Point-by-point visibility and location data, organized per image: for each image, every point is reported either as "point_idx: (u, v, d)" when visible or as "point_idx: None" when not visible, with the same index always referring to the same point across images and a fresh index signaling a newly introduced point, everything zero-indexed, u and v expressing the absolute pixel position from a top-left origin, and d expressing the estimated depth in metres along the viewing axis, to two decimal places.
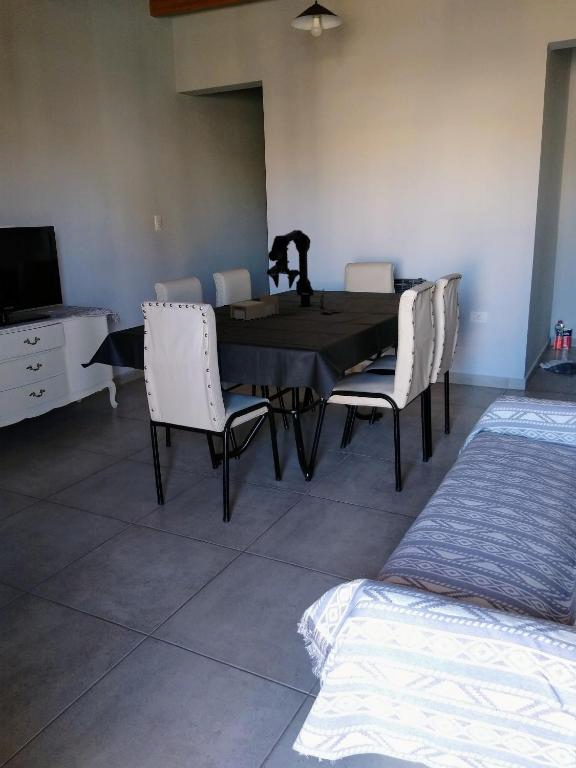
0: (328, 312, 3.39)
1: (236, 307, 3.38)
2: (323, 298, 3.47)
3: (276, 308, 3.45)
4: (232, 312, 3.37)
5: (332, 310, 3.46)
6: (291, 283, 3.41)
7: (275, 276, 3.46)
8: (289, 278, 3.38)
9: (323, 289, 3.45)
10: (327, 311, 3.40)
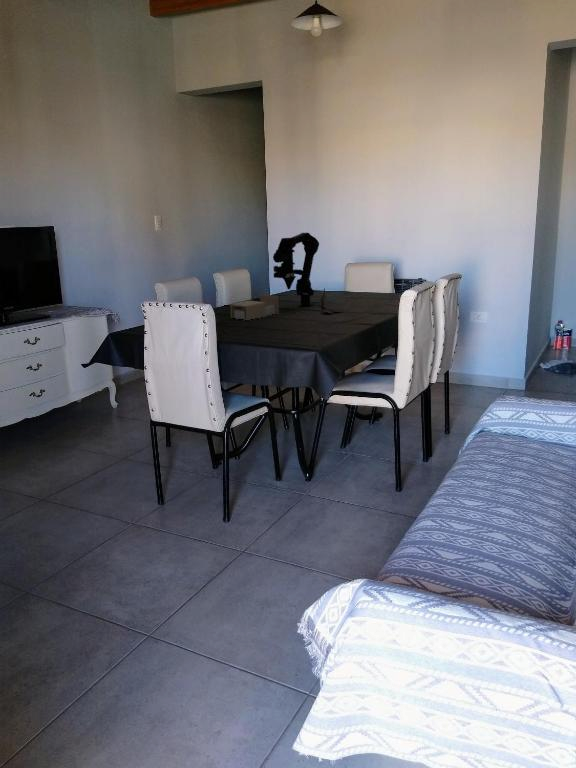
0: None
1: (236, 307, 3.38)
2: (324, 298, 3.47)
3: (276, 308, 3.45)
4: (232, 312, 3.37)
5: (333, 310, 3.46)
6: (287, 284, 3.53)
7: None
8: (283, 278, 3.53)
9: (324, 289, 3.46)
10: (327, 311, 3.41)
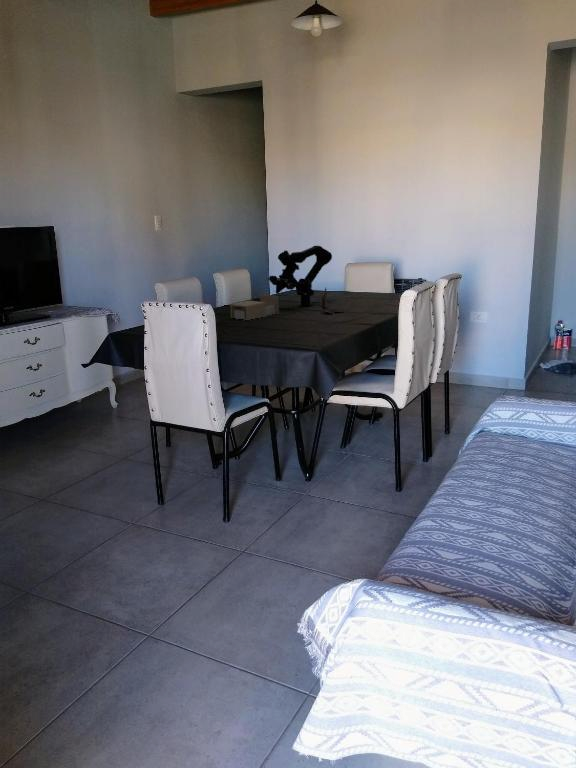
0: None
1: (236, 307, 3.38)
2: None
3: (276, 308, 3.45)
4: (232, 312, 3.37)
5: (334, 310, 3.47)
6: None
7: None
8: None
9: None
10: (328, 311, 3.41)
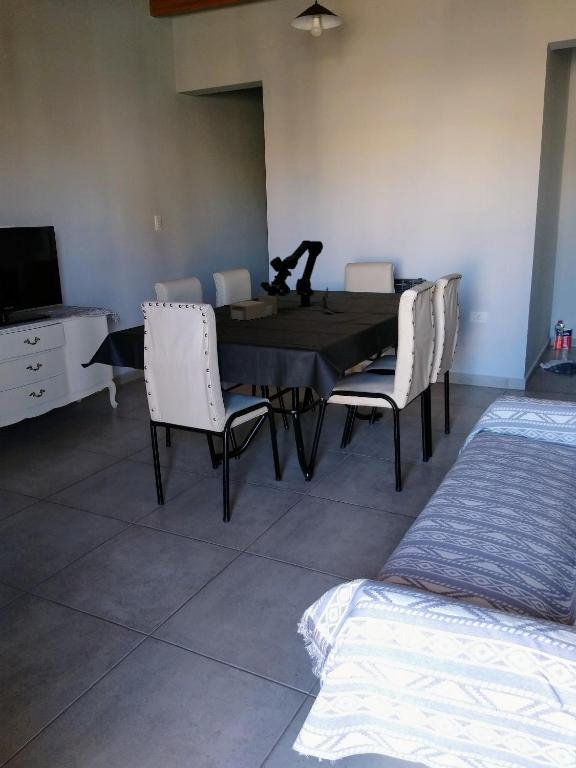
0: None
1: (236, 307, 3.38)
2: (327, 297, 3.48)
3: (274, 308, 3.44)
4: None
5: None
6: None
7: None
8: None
9: (327, 288, 3.47)
10: (329, 310, 3.42)
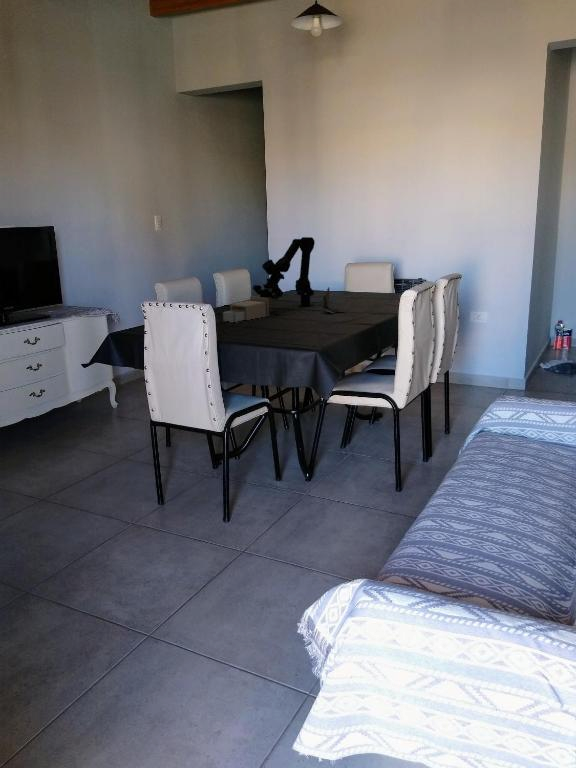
0: (329, 311, 3.41)
1: (236, 307, 3.38)
2: (328, 297, 3.49)
3: (266, 310, 3.40)
4: None
5: (336, 310, 3.47)
6: None
7: None
8: None
9: (328, 288, 3.47)
10: (329, 310, 3.42)
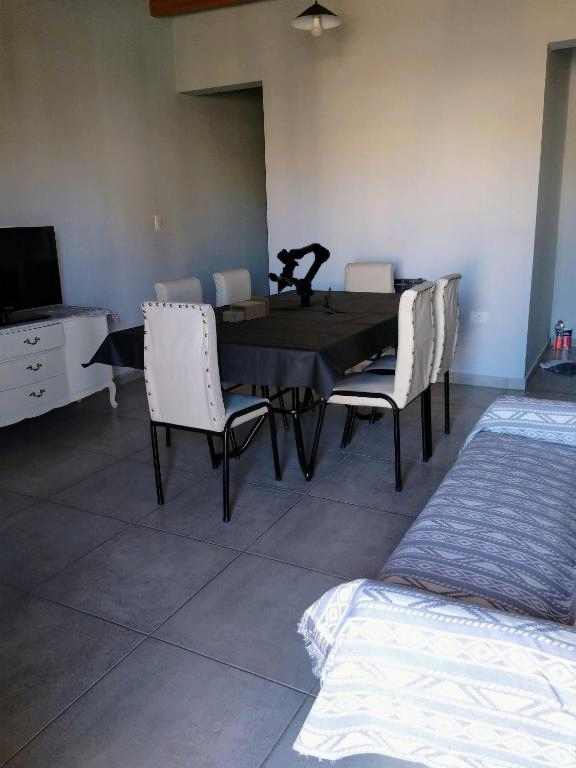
0: (330, 311, 3.41)
1: (236, 307, 3.38)
2: (330, 297, 3.49)
3: (266, 310, 3.40)
4: None
5: None
6: None
7: None
8: None
9: (330, 288, 3.47)
10: (330, 310, 3.42)
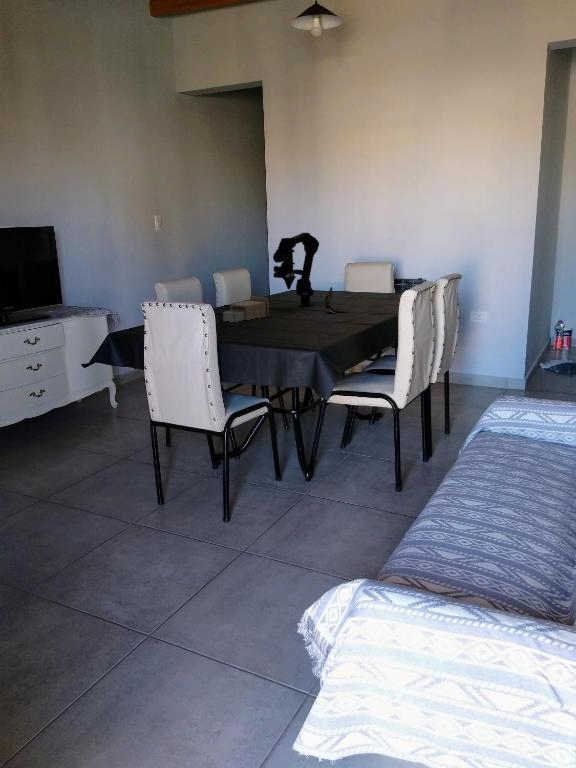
0: (330, 311, 3.41)
1: (236, 307, 3.38)
2: (331, 297, 3.49)
3: (266, 310, 3.40)
4: None
5: (338, 309, 3.47)
6: (287, 284, 3.53)
7: None
8: (283, 278, 3.53)
9: (331, 288, 3.48)
10: (330, 310, 3.43)
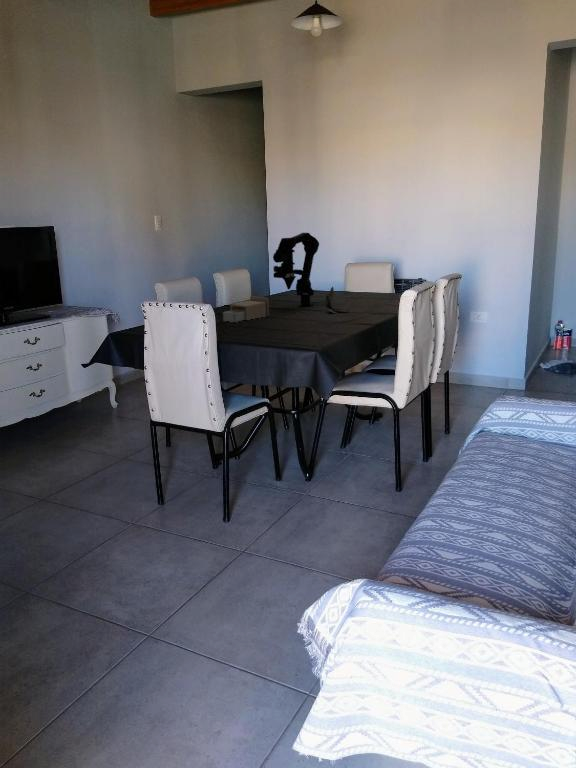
0: (331, 311, 3.41)
1: (236, 307, 3.38)
2: (332, 297, 3.49)
3: (266, 310, 3.40)
4: None
5: (339, 309, 3.47)
6: (287, 284, 3.53)
7: None
8: (283, 278, 3.53)
9: (332, 288, 3.48)
10: (331, 310, 3.43)
